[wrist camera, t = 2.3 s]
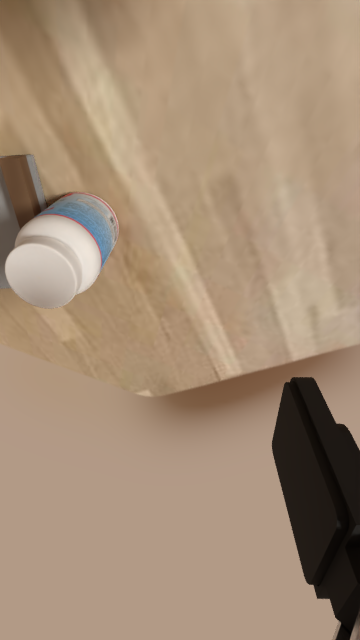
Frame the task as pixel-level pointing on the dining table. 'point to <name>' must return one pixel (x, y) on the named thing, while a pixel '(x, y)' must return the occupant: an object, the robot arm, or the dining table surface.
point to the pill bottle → (62, 250)
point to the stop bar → (20, 188)
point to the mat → (13, 217)
